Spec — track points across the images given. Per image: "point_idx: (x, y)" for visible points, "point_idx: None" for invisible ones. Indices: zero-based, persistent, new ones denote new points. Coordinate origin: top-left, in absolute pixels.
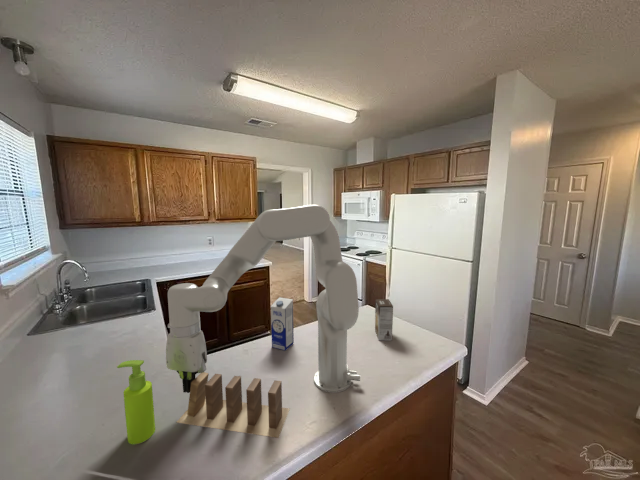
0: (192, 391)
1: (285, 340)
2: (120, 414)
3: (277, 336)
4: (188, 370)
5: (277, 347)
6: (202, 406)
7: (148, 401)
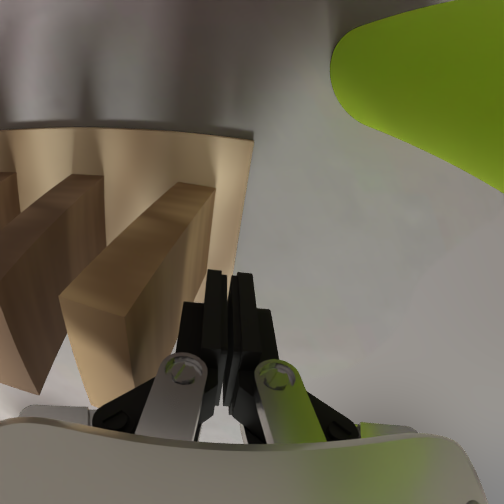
0: (140, 259)
1: None
2: (498, 204)
3: None
4: (101, 454)
5: None
6: None
7: (455, 42)
